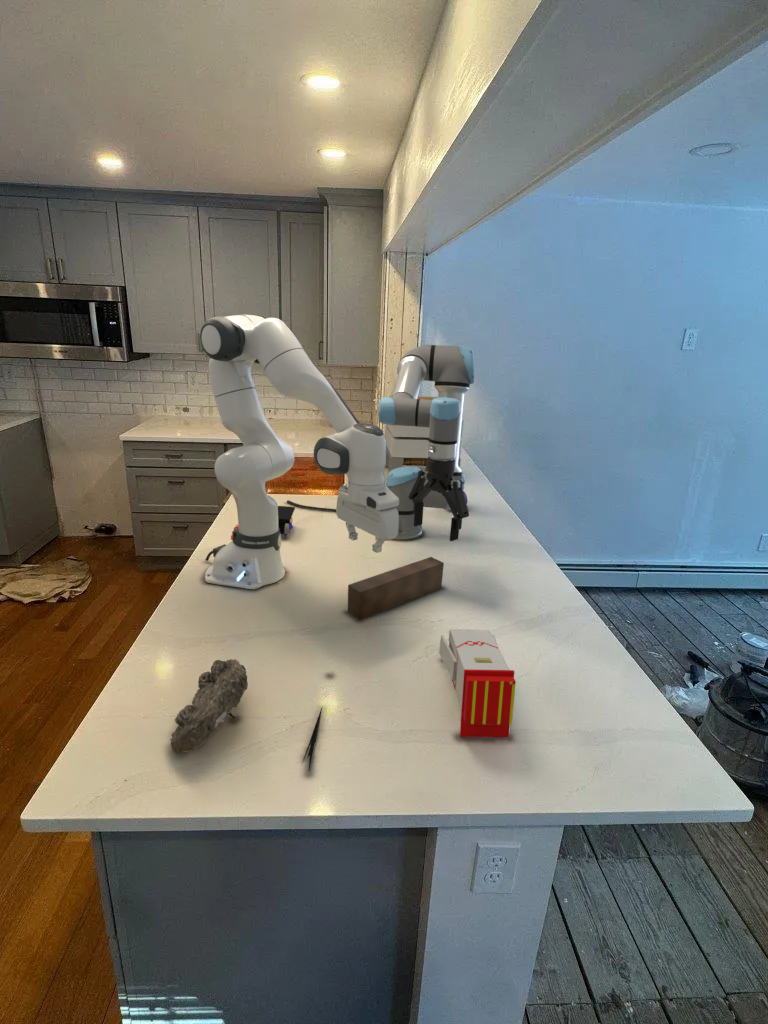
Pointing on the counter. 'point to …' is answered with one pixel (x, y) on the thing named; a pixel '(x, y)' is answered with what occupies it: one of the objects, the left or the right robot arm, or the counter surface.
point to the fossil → (210, 704)
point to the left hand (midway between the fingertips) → (364, 545)
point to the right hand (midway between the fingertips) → (435, 532)
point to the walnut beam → (394, 587)
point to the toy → (479, 682)
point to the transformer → (409, 444)
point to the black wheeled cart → (285, 519)
